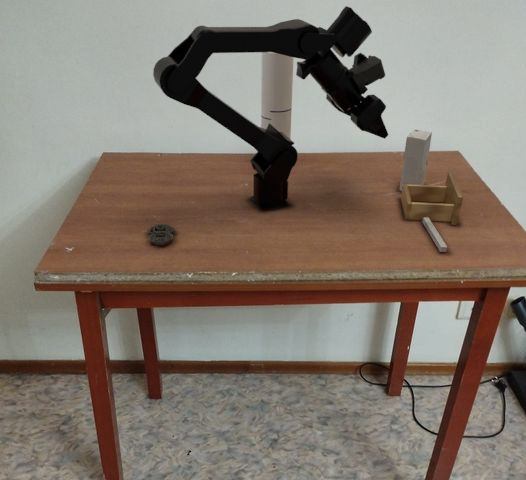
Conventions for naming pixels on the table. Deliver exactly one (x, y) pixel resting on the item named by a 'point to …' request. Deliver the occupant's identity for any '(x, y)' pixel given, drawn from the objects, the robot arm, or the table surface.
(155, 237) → the corroded twin loop
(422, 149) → the cosmetic box
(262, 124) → the cylindrical container
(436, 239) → the ruler
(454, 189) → the wooden tray frame
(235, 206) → the table surface
